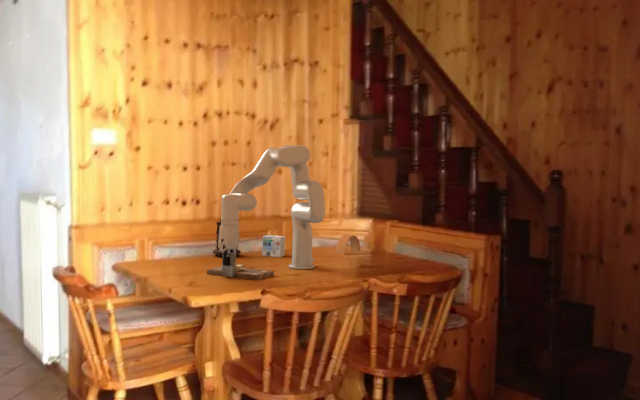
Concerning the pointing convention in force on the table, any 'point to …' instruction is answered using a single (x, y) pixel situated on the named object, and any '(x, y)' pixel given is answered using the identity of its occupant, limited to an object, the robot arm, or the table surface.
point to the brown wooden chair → (217, 242)
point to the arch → (343, 243)
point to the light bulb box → (273, 246)
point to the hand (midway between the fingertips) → (229, 264)
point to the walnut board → (244, 273)
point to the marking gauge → (231, 266)
